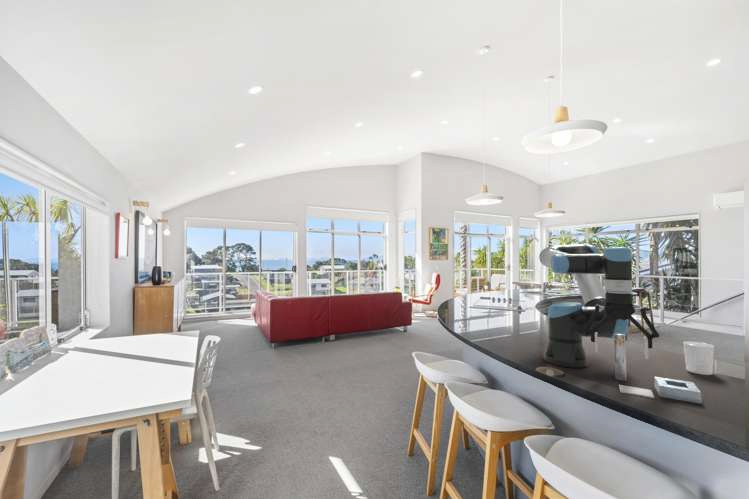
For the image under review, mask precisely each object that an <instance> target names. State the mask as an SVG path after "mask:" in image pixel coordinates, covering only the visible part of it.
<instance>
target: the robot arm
mask: <svg viewBox="0 0 749 499" xmlns="http://www.w3.org/2000/svg"><path fill="white" fill-rule="evenodd" d="M538 258H539V261H540V263H541V264H542V266H545V267H546V268H550V269H551V272H552V273H554V274H559V275H564V274H566V275H567V274H568V275H569V274H572V275H573V276H574V278H575V282H576V283H577V286H578V289H579V292H580V294H581V298H582V301H583V303H584V304H583V305H582V303H580V302H579V301H578V302H576V301H574V302H573V301H572V302H571V301H567V302H566V301H565V302H563V301H562V302H558V303H552V304H550V305H549V306H548V309H547V330H548V341H547V344H546V347H545V350H544V352H543V360H544V361H545V362H547V363H548V364H552V365H555V366H559V367H565V368H574V369H575V368H578V369H579V368H586V367H588V366H589V358H588V356H587V353H586V349H585V347H584V346H583V337H588V338H590V341H591V343H594V352H595V353H599V350H598V349H599V348H598V347H599V346H598V341H599V340H598V338H603V339H605V338H606V339H614V334H624V335H625V337H626V335H627V334H628V331H629V322H631V323H632V324H633V325H634V326H635V327H636V328H637V329H638V330H639V331H640V332H641V333H642V334H644V336H643V350H644V351H643V352H644V353H643V354H644V358H645V360H649V349H653V339H655V338H659V337H660V334H659V332H658V331H657V328H655V326H654V324H653V323H652V321H651V320H650V319H649V316H648V315H647V312H646V311H647V310H646V309H645V308H644V307H643V306H640V307H634V296H633V293H632V292H633V268H632V267H633V266H632V264H633V263H632V262H633V261H632V260H633V257H632V250H631V248H630V247H628V246H627V247H626V246H625V247H624V246H622V247H621V246H619V247H617V246H616V247H605V248H604V251H603V253H598V250H597V249H596V247H595V246H594V245H592V244H585V243H581V244H555V245H554V244H553V245H549V246H546V247H545V248H544V249H542V250H541V252H540V253H539V257H538ZM599 275H604V286H603V284H602V282H601V280H600V277H599ZM635 312H636V313H637V314H638V315H640V316H641V318H642V319H643V321H644V323H646V325H647V327H648V328H649V330H650V332H651V333H650V332H648V330H647V329H645V327H643V325H641V323H639V321H637V320H636V319H635V318H634V317H633V314H635Z"/></svg>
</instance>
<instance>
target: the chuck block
mask: <svg viewBox="0 0 749 499" xmlns="http://www.w3.org/2000/svg"><path fill="white" fill-rule="evenodd" d="M654 388H655V391H656V392H657V395H658V396H659V397H661V398H666V399H671V400H677V401H683V402H688V403H695V404H702V402H703V401H702V392H701V391H700V389H699V387H698V386H697V385H696V384H695V383H694V381H686V380H681V379H675V378H674V379H672V378H666V377H659V376H654Z"/></svg>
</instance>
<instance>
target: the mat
mask: <svg viewBox="0 0 749 499" xmlns="http://www.w3.org/2000/svg"><path fill="white" fill-rule="evenodd" d="M618 388H619V392H620V393H622V394H629V395H632V396H633V395H634V396H639V397H645V398H650V399H655V395H654V393H653V391H652V389H648V388H642V387H637V386H636V387H634V386H629V385H623V384H618Z"/></svg>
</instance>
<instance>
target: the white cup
mask: <svg viewBox="0 0 749 499" xmlns="http://www.w3.org/2000/svg"><path fill="white" fill-rule="evenodd" d="M714 352H715V346H714V345H713V344H710V343H705V342H700V341H688V340H687V341H683V353H684V362H685V369H686V371H687V372H690V373H693V374H696V375H697V374H698V375H702V376H704V375H705V376H711V375H713V372H714V368H713V367H714V360H715V359H714V358H715V357H714V356H715V353H714Z"/></svg>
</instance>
